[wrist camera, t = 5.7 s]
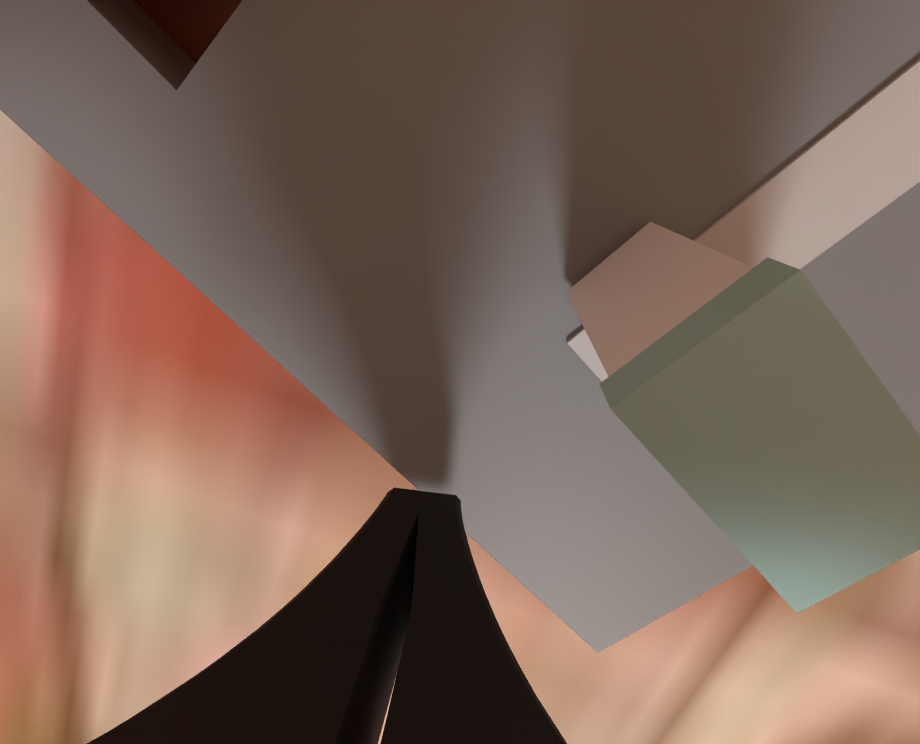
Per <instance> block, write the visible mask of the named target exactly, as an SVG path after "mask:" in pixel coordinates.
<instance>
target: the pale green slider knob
mask: <svg viewBox="0 0 920 744" xmlns="http://www.w3.org/2000/svg"><path fill="white" fill-rule="evenodd" d="M566 293H567V295H568V297H569V299H570V301H571V303H572V305H573V307H574V309H575V311H576V313H577V315H578V317H579V319H580V321H581V323H582V325H583V327H584V329H585V331H586V333H587V335H588V337H589V339H590V341H591V343H592V345H593V347H594V349H595V351H596V353H597V355H598V357H599V359H600V361H601V363H602V365H603V367H604V369H605V371H606V373H607V375H608V378H606V379H605V380H604V381H602V382H601V383H600V384H599V385H600V387H601V389H602V391H603V394H604V396H605V398H606V400H607V403H608V405H609V407H610V409H611V410H612V411H613V412H614V414H615V415H616V416H617V417H618V418H619V419H620V420H621V421H622V422H623V423H624V424H625V426H626V427H627V428H628V429H629V430H630V431H631V432H632V433H633V434H634V435H635V437H636V438H637V439H638V440H639V441H640V442H641V443H642V444H643V445H644V446H645V447H646V449H647V450H648V451H649V452H650V453H651V454H652V455H653V456H654V457H655V458H656V460H657V461H658V462H659V463H660V464H661V465H662V466H663V467H664V468H665V469H666V470H667V472H668V473H669V474H670V475H671V476H672V477H673V478H674V479H675V480H676V481H677V483H678V484H679V485H680V486H681V487H682V488H683V489H684V490H685V491H686V492H687V493H688V495H689V496H690V497H691V498H692V499H693V500H694V501H695V502H696V503H697V504H698V506H699V507H700V508H701V509H702V510H703V511H704V512H705V513H706V514H707V515H708V516H709V518H710V519H711V520H712V521H713V522H714V523H715V524H716V525H717V526H718V527H719V529H720V530H721V531H722V532H723V533H724V534H725V535H726V536H727V537H728V538H729V540H730V541H731V542H732V543H733V544H734V545H735V546H736V547H737V548H738V549H739V550H740V552H741V553H742V554H743V555H744V556H745V557H746V558H747V559H748V560H749V561H750V563H751V564H752V565H753V566H754V567H755V568H756V569H757V570H758V571H759V572H760V573H761V575H762V576H763V577H764V578H765V579H766V580H767V581H768V582H769V583H770V584H771V586H772V587H773V588H774V589H775V590H776V591H777V592H778V593H779V594H780V595H781V596H782V598H783V599H784V600H785V601H786V602H787V603H788V604H789V605H790V606H791V607H792V609H793V610H794V611H795V612H796V613H798V612H800V611H802V610H804V609H806V608H808V607H810V606H812V605H814V604H816V603H818V602H820V601H821V600H823V599H825V598H827V597H829V596H831V595H833V594H835V593H837V592H839V591H841V590H843V589H845V588H847V587H848V586H850V585H852V584H854V583H856V582H858V581H860V580H862V579H864V578H866V577H868V576H870V575H872V574H874V573H875V572H877V571H879V570H881V569H883V568H885V567H887V566H889V565H891V564H893V563H895V562H897V561H899V560H901V559H902V558H904V557H906V556H908V555H910V554H912V553H914V552H916V551H918V550H920V435H919V434H918V432H917V431H916V429H915V428H914V427H913V425H912V424H911V422H910V421H909V420H908V418H907V417H906V416H905V414H904V413H903V411H902V410H901V409H900V407H899V406H898V404H897V403H896V402H895V400H894V399H893V397H892V396H891V395H890V393H889V392H888V390H887V389H886V388H885V386H884V385H883V384H882V382H881V381H880V379H879V378H878V377H877V375H876V374H875V372H874V371H873V370H872V368H871V367H870V365H869V364H868V363H867V361H866V360H865V359H864V357H863V356H862V354H861V353H860V352H859V350H858V349H857V347H856V346H855V345H854V343H853V342H852V340H851V339H850V338H849V336H848V335H847V333H846V332H845V331H844V329H843V328H842V327H841V325H840V324H839V322H838V321H837V320H836V318H835V317H834V315H833V314H832V313H831V311H830V310H829V308H828V307H827V306H826V304H825V303H824V302H823V300H822V299H821V297H820V296H819V295H818V293H817V292H816V290H815V289H814V288H813V286H812V285H811V283H810V282H809V281H808V279H807V278H806V276H805V275H804V274H803V272H802V271H801V270H800V269H797V268H795V267H792V266H789V265H787V264H784V263H782V262H779V261H776V260H774V259H771V258H769V257H767V258H766V259H764V260H763V261H762V262H760V263H759V264H758V265H756V266H755V267H752V266H750V265H747V264H745V263H743V262H741V261H738V260H736V259H734V258H732V257H729V256H727V255H725V254H723V253H720V252H718V251H716V250H714V249H711V248H709V247H707V246H704V245H702V244H700V243H698V242H695V241H693V240H691V239H689V238H686V237H684V236H682V235H680V234H677V233H675V232H673V231H671V230H668V229H666V228H664V227H662V226H659V225H657V224H655V223H653V222H649V223H648V224H647V225H646V226H644V227H643V228H642V229H641V230H640V231H639V232H637V233H636V234H635V235H634V236H633V237H631V238H630V239H629V240H628V241H627V242H625V243H624V244H623V245H622V246H621V247H619V248H618V249H617V250H616V251H615V252H613V253H612V254H611V255H610V256H609V257H607V258H606V259H605V260H604V261H603V262H602V263H600V264H599V265H598V266H597V267H596V268H594V269H593V270H592V271H591V272H590V273H588V274H587V275H586V276H585V277H584V278H582V279H581V280H580V281H579V282H578V283H576V284H575V285H574V286H573V287H572V288H570V289H569V290H568V291H567V292H566Z"/></svg>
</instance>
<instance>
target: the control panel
mask: <svg viewBox="0 0 920 744" xmlns="http://www.w3.org/2000/svg"><path fill="white" fill-rule="evenodd" d="M0 110H1V111H2V112H4V113H5V114H6V115H7V116H8V117H9V118H10V119H11V120H12V121H13V122H15V123H16V124H17V125H18V126H19V127H20V128H21V129H22V130H23V131H24V132H26V133H27V134H28V135H29V136H30V137H31V138H32V139H33V140H34V141H35V142H37V143H38V144H39V145H40V146H41V147H42V148H43V149H44V150H45V151H46V152H48V153H49V154H50V155H51V156H52V157H53V158H54V159H55V160H56V161H57V162H59V163H60V164H61V165H62V166H63V167H64V168H65V169H66V170H67V171H68V172H70V173H71V174H72V175H73V176H74V177H75V178H76V179H77V180H78V181H79V182H81V183H82V184H83V185H84V186H85V187H86V188H87V189H88V190H89V191H90V192H92V193H93V194H94V195H95V196H96V197H97V198H98V199H99V200H100V201H101V202H103V203H104V204H105V205H106V206H107V207H108V208H109V209H110V210H111V211H112V212H114V213H115V214H116V215H117V216H118V217H119V218H120V219H121V220H122V221H123V222H125V223H126V224H127V225H128V226H129V227H130V228H131V229H132V230H133V231H134V232H136V233H137V234H138V235H139V236H140V237H141V238H142V239H143V240H144V241H145V242H147V243H148V244H149V245H150V246H151V247H152V248H153V249H154V250H155V251H156V252H158V253H159V254H160V255H161V256H162V257H163V258H164V259H165V260H166V261H167V262H169V263H170V264H171V265H172V266H173V267H174V268H175V269H176V270H177V271H178V272H180V273H181V274H182V275H183V276H184V277H185V278H186V279H187V280H188V281H189V282H191V283H192V284H193V285H194V286H195V287H196V288H197V289H198V290H199V291H200V292H202V293H203V294H204V295H205V296H206V297H207V298H208V299H209V300H210V301H211V302H213V303H214V304H215V305H216V306H217V307H218V308H219V309H220V310H221V311H222V312H224V313H225V314H226V315H227V316H228V317H229V318H230V319H231V320H232V321H233V322H235V323H236V324H237V325H238V326H239V327H240V328H241V329H242V330H243V331H244V332H246V333H247V334H248V335H249V336H250V337H251V338H252V339H253V340H254V341H255V342H257V343H258V344H259V345H260V346H261V347H262V348H263V349H264V350H265V351H266V352H268V353H269V354H270V355H271V356H272V357H273V358H274V359H275V360H276V361H277V362H278V363H280V364H281V365H282V366H283V367H284V368H285V369H286V370H287V371H288V372H289V373H291V374H292V375H293V376H294V377H295V378H296V379H297V380H298V381H299V382H300V383H302V384H303V385H304V386H305V387H306V388H307V389H308V390H309V391H310V392H311V393H313V394H314V395H315V396H316V397H317V398H318V399H319V400H320V401H321V402H322V403H324V404H325V405H326V406H327V407H328V408H329V409H330V410H331V411H332V412H333V413H335V414H336V415H337V416H338V417H339V418H340V419H341V420H342V421H343V422H344V423H346V424H347V425H348V426H349V427H350V428H351V429H352V430H353V431H354V432H355V433H357V434H358V435H359V436H360V437H361V438H362V439H363V440H364V441H365V442H366V443H368V444H369V445H370V446H371V447H372V448H373V449H374V450H375V451H376V452H377V453H379V454H380V455H381V456H382V457H383V458H384V459H385V460H386V461H387V462H388V463H390V464H391V465H392V466H393V467H394V468H395V469H396V470H397V471H398V472H399V473H401V474H402V475H403V476H404V477H405V478H406V479H407V480H408V481H409V482H410V483H412V484H413V485H414V486H415V487H416V488H417V489H418V490H419V491H426V492H434V493H443V494H452V495H457V497H458V498H459V499H460V500H461V511H462V519H463V524H464V529H465V533H467V534H468V535H469V536H470V537H471V538H472V539H473V540H474V541H475V542H476V543H478V544H479V545H480V546H481V547H482V548H483V549H484V550H485V551H486V552H487V553H489V554H490V555H491V556H492V557H493V558H494V559H495V560H496V561H497V562H498V563H500V564H501V565H502V566H503V567H504V568H505V569H506V570H507V571H508V572H509V573H511V574H512V575H513V576H514V577H515V578H516V579H517V580H518V581H519V582H520V583H522V584H523V585H524V586H525V587H526V588H527V589H528V590H529V591H530V592H531V593H533V594H534V595H535V596H536V597H537V598H538V599H539V600H540V601H541V602H542V603H543V604H545V605H546V606H547V607H548V608H549V609H550V610H551V611H552V612H553V613H554V614H556V615H557V616H558V617H559V618H560V619H561V620H562V621H563V622H564V623H565V624H567V625H568V626H569V627H570V628H571V629H572V630H573V631H574V632H575V633H576V634H578V635H579V636H580V637H581V638H582V639H583V640H584V641H585V642H586V643H587V644H589V645H590V646H591V647H592V648H593V649H594V650H595V651H596V652H597V653H599V652H601V651H602V650H604V649H606V648H608V647H609V646H611V645H613V644H615V643H617V642H618V641H620V640H622V639H624V638H625V637H627V636H629V635H631V634H632V633H634V632H636V631H638V630H640V629H641V628H643V627H645V626H647V625H648V624H650V623H652V622H654V621H656V620H657V619H659V618H661V617H663V616H664V615H666V614H668V613H670V612H672V611H673V610H675V609H677V608H679V607H680V606H682V605H684V604H686V603H687V602H689V601H691V600H693V599H695V598H696V597H698V596H700V595H702V594H703V593H705V592H707V591H709V590H711V589H712V588H714V587H716V586H718V585H719V584H721V583H723V582H725V581H726V580H728V579H730V578H732V577H734V576H735V575H737V574H739V573H741V572H742V571H744V570H746V569H748V568H750V567H751V566H753V565H752V564H751V563H750V561H749V560H748V559H747V558H746V557H745V556H744V555H743V554H742V553H741V552H740V550H739V549H738V548H737V547H736V546H735V545H734V544H733V543H732V542H731V541H730V540H729V538H728V537H727V536H726V535H725V534H724V533H723V532H722V531H721V530H720V529H719V527H718V526H717V525H716V524H715V523H714V522H713V521H712V520H711V519H710V518H709V516H708V515H707V514H706V513H705V512H704V511H703V510H702V509H701V508H700V507H699V506H698V504H697V503H696V502H695V501H694V500H693V499H692V498H691V497H690V496H689V495H688V493H687V492H686V491H685V490H684V489H683V488H682V487H681V486H680V485H679V484H678V483H677V481H676V480H675V479H674V478H673V477H672V476H671V475H670V474H669V473H668V472H667V470H666V469H665V468H664V467H663V466H662V465H661V464H660V463H659V462H658V461H657V460H656V458H655V457H654V456H653V455H652V454H651V453H650V452H649V451H648V450H647V449H646V447H645V446H644V445H643V444H642V443H641V442H640V441H639V440H638V439H637V438H636V437H635V435H634V434H633V433H632V432H631V431H630V430H629V429H628V428H627V427H626V426H625V424H624V423H623V422H622V421H621V420H620V419H619V418H618V417H617V416H616V415H615V414H614V412H613V411H612V410H611V409H610V407H609V405H608V403H607V400H606V398H605V396H604V394H603V391H602V389H601V387H600V385H599V384H600V383H601V382H602V381H604V380H605V379H606V378H608V375H607V373H606V371H605V369H604V367H603V365H602V363H601V361H600V359H599V357H598V355H597V353H596V351H595V349H594V347H593V345H592V343H591V341H590V339H589V337H588V335H587V333H586V331H585V329H584V327H583V325H582V323H581V321H580V319H579V317H578V315H577V313H576V311H575V309H574V307H573V305H572V303H571V301H570V299H569V297H568V295H567V293H566V292H567V291H568V290H569V289H570V288H572V287H573V286H574V285H575V284H576V283H578V282H579V281H580V280H581V279H582V278H584V277H585V276H586V275H587V274H588V273H590V272H591V271H592V270H593V269H594V268H596V267H597V266H598V265H599V264H600V263H602V262H603V261H604V260H605V259H606V258H607V257H609V256H610V255H611V254H612V253H613V252H615V251H616V250H617V249H618V248H619V247H621V246H622V245H623V244H624V243H625V242H627V241H628V240H629V239H630V238H631V237H633V236H634V235H635V234H636V233H637V232H639V231H640V230H641V229H642V228H643V227H644V226H646V225H647V224H648V223H649V222H653V223H655V224H657V225H659V226H662V227H664V228H666V229H668V230H671V231H673V232H675V233H677V234H680V235H682V236H684V237H686V238H689V239H691V240H693V241H695V242H698V243H700V244H702V245H704V246H707V247H709V248H711V249H714V250H716V251H718V252H720V253H723V254H725V255H727V256H729V257H732V258H734V259H736V260H738V261H741V262H743V263H745V264H747V265H750V266H752V267H755V266H756V265H758V264H759V263H760V262H762V261H763V260H764V259H766V258H767V257H769V258H771V259H774V260H776V261H779V262H782V263H784V264H787V265H789V266H792V267H795V268H797V269H800V270H801V271H802V272H803V274H804V275H805V276H806V278H807V279H808V281H809V282H810V283H811V285H812V286H813V288H814V289H815V290H816V292H817V293H818V295H819V296H820V297H821V299H822V300H823V302H824V303H825V304H826V306H827V307H828V308H829V310H830V311H831V313H832V314H833V315H834V317H835V318H836V320H837V321H838V322H839V324H840V325H841V327H842V328H843V329H844V331H845V332H846V333H847V335H848V336H849V338H850V339H851V340H852V342H853V343H854V345H855V346H856V347H857V349H858V350H859V352H860V353H861V354H862V356H863V357H864V359H865V360H866V361H867V363H868V364H869V365H870V367H871V368H872V370H873V371H874V372H875V374H876V375H877V377H878V378H879V379H880V381H881V382H882V384H883V385H884V386H885V388H886V389H887V390H888V392H889V393H890V395H891V396H892V397H893V399H894V400H895V402H896V403H897V404H898V406H899V407H900V409H901V410H902V411H903V413H904V414H905V416H906V417H907V418H908V420H909V421H910V422H911V424H912V425H913V427H914V428H915V429H916V431H917V432H918V434H919V435H920V0H242V1H241V3H240V4H239V6H238V7H237V8H236V10H235V11H234V12H233V14H232V15H231V17H230V18H229V19H228V21H227V22H226V23H225V25H224V26H223V28H222V29H221V30H220V32H219V33H218V34H217V36H216V37H215V38H214V40H213V41H212V43H211V44H210V45H209V47H208V48H207V49H206V51H205V52H204V54H203V55H202V56H201V58H200V59H199V60H198V62H197V63H196V64H195V63H194V62H193V61H192V60H191V59H190V58H189V57H188V55H187V54H186V53H185V52H184V51H183V50H182V49H181V48H180V47H179V46H178V45H177V44H176V43H175V42H174V41H173V40H172V39H171V38H170V37H169V36H168V35H167V34H166V33H165V32H164V31H163V30H162V29H161V28H160V27H159V25H158V24H157V23H156V22H155V21H154V20H153V19H152V18H151V17H150V16H149V15H148V14H147V13H146V12H145V11H144V10H143V9H142V8H141V7H140V6H139V5H138V4H137V3H136V2H135V1H134V0H0Z"/></svg>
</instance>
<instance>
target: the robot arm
mask: <svg viewBox="0 0 920 744" xmlns="http://www.w3.org/2000/svg"><path fill="white" fill-rule="evenodd" d="M397 670H398V671H397ZM396 674H397V675H396ZM395 678H396V680H395ZM394 681H395V684H394ZM393 685H394V689H393ZM392 689H393V693H392V698H391V702H390V707H389V711H388V715H387V719H386V723H385V728H384V732H383V736H382V740H381V744H567V743H566V741H565V740H564V738H563V737H562V735H561V734H560V732H559V730H558V729H557V727H556V726H555V724H554V723H553V721H552V720H551V718H550V716H549V715H548V713H547V712H546V710H545V709H544V707H543V706H542V704H541V702H540V701H539V699H538V698H537V696H536V694H535V693H534V691H533V689H532V687H531V686H530V684H529V682H528V680H527V679H526V677H525V675H524V673H523V671H522V670H521V668H520V666H519V664H518V662H517V660H516V658H515V657H514V655H513V653H512V651H511V649H510V647H509V645H508V643H507V641H506V639H505V637H504V635H503V633H502V631H501V629H500V626H499V624H498V622H497V620H496V618H495V615H494V613H493V611H492V608H491V606H490V604H489V601H488V599H487V596H486V594H485V591H484V589H483V586H482V584H481V581H480V578H479V575H478V572H477V569H476V566H475V564H474V561H473V558H472V555H471V551H470V548H469V545H468V541H467V537H466V533H465V529H464V524H463V519H462V511H461V500H460V499H459V498H458V497H457V495H452V494H443V493H434V492H426V491H417V490H409V489H400V488H393V489H392V490H390V491H389V492H388V493H387V494H386V496H385V497H384V499H383V500H382V502H381V503H380V505H379V506H378V507H377V509H376V510H375V511H374V513H373V514H372V515H371V516H370V518H369V519H368V520H367V521H366V523H365V524H364V525H363V526H362V527H361V529H360V530H359V531H358V532H357V533H356V534H355V536H354V537H353V538H352V539H351V540H350V541H349V542H348V543H347V545H346V546H345V547H344V548H343V549H342V550H341V551H340V552H339V554H338V555H337V556H336V557H335V558H334V559H333V560H332V561H331V562H330V563H329V564H328V565H327V566H326V567H325V568H324V569H323V570H322V571H321V572H320V573H319V574H318V575H317V576H316V577H315V578H314V579H313V580H312V581H311V582H310V583H309V584H308V585H307V586H306V587H305V588H304V589H303V590H302V591H301V592H300V593H299V594H298V595H296V596H295V597H294V598H293V599H292V600H291V601H290V602H289V603H288V604H287V605H285V606H284V607H283V608H282V609H281V610H280V611H279V612H277V613H276V614H275V615H274V616H273V617H271V618H270V619H269V620H268V621H267V622H266V623H264V624H263V625H262V626H261V627H260V628H258V629H257V630H256V631H255V632H253V633H252V634H251V635H249V636H248V637H247V638H246V639H244V640H243V641H242V642H240V643H239V644H238V645H236V646H235V647H234V648H233V649H231V650H230V651H229V652H227V653H226V654H225V655H223V656H222V657H221V658H219V659H218V660H217V661H215V662H214V663H213V664H211V665H210V666H208V667H207V668H206V669H204V670H203V671H201V672H200V673H199V674H197V675H196V676H194V677H193V678H191V679H190V680H188V681H187V682H185V683H184V684H182V685H181V686H179V687H178V688H176V689H174V690H173V691H171V692H170V693H168V694H167V695H165V696H164V697H162V698H161V699H159V700H158V701H156V702H155V703H153V704H152V705H150V706H148V707H147V708H145V709H144V710H142V711H141V712H139V713H138V714H136V715H135V716H133V717H132V718H130V719H128V720H127V721H125V722H123V723H122V724H120V725H118V726H117V727H115V728H114V729H112V730H110V731H109V732H107V733H105V734H103V735H102V736H100V737H98V738H96V739H94V740H93V741H91V742H89V743H87V744H378V741H379V737H380V733H381V730H382V726H383V722H384V718H385V715H386V711H387V707H388V704H389V700H390V696H391V692H392Z"/></svg>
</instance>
